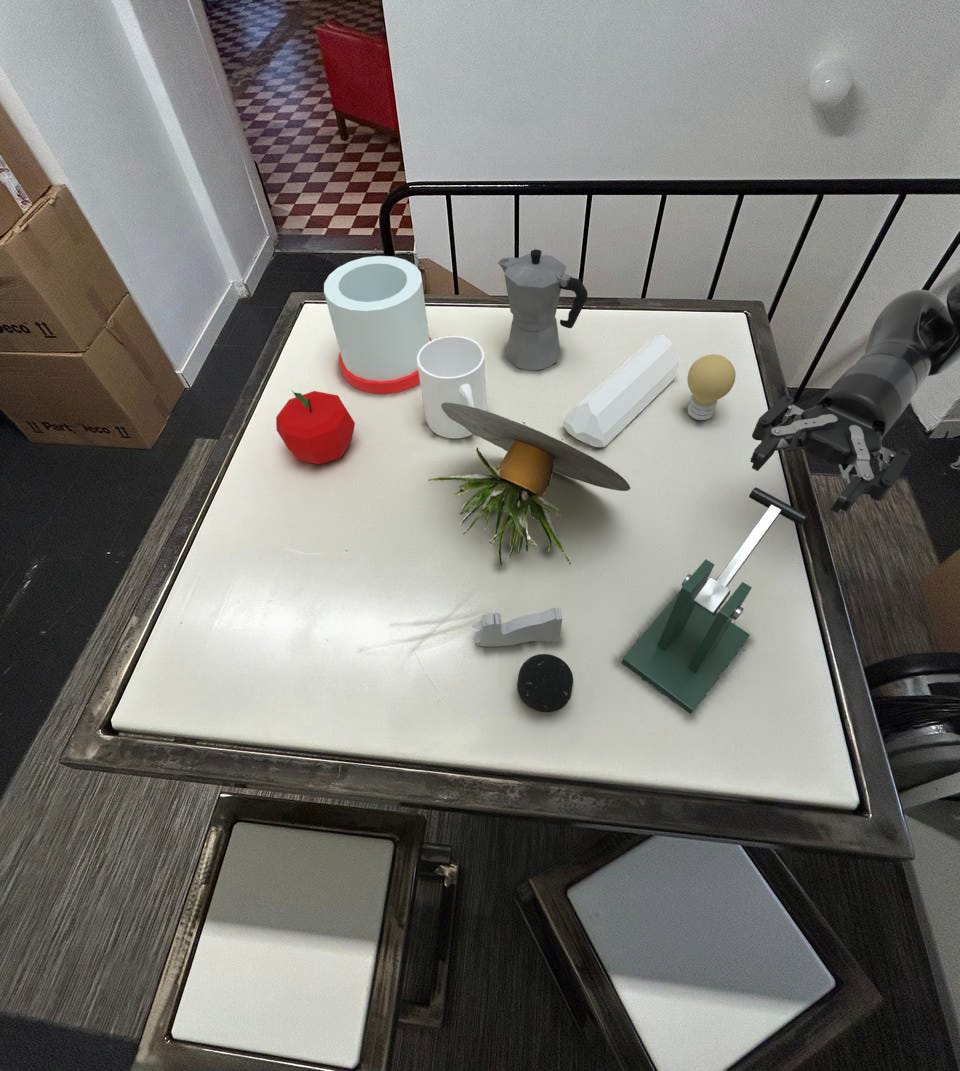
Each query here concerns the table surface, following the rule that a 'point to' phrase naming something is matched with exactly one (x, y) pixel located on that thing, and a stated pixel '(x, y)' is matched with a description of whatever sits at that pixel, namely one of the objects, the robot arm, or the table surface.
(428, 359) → the mug
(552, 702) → the billiard ball
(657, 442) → the table surface
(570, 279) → the coffeepot
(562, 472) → the upside-down potted plant
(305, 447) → the apple
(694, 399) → the light bulb
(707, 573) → the switch bracket
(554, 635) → the grey tape dispenser
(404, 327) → the container
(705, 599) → the switch lever
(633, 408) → the crystal
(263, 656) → the table surface
